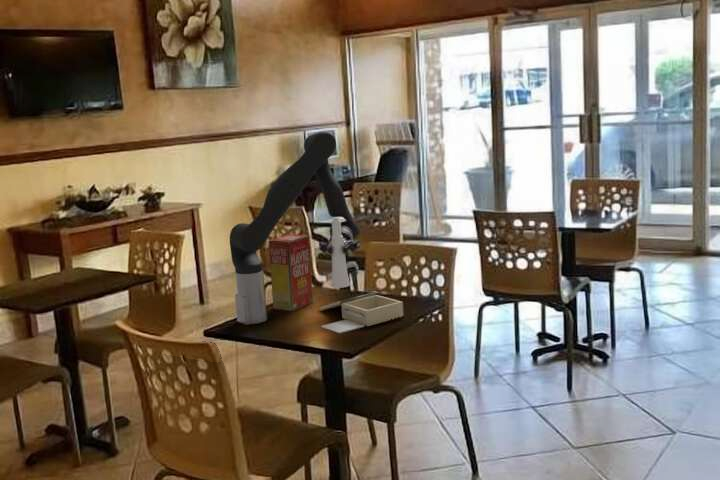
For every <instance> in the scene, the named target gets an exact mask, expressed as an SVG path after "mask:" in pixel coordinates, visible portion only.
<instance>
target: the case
mask: <svg viewBox="0 0 720 480" xmlns="http://www.w3.org/2000/svg"><path fill="white" fill-rule="evenodd" d="M371 295H373V296H371ZM367 296H369V297H367ZM363 297H366V298H363ZM359 298H362V299H359ZM355 299H358V300H355ZM351 300H354V301H351ZM339 301H340V302H341V303H342V304H341V316H342V317H341V319H343V320H349V321H352V322H356V323H359V324H362V325H364V326H366V327H369V326H373V325H377V324H381V323H384V322H387V321H391V319H392V320H395V318H396V319H398V317H399V318H402V316H403V317H404V301H401V300H398V299H394V298H390V297H386V296H382V295H379V294H377V293H376V292H374V293H373V292H370V294H369V293H366V295H365V294H362V295H357V296H354V297H349V298H345V299H342V300H339ZM347 301H350V302H347ZM343 302H346V303H343Z"/></svg>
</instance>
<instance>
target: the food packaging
mask: <svg viewBox="0 0 720 480" xmlns="http://www.w3.org/2000/svg"><path fill="white" fill-rule="evenodd" d="M268 247H269V248H268V250H269V266H270V280H271V281H270V282H271V294H272V296H271V297H272V309H273V310H280V311H289V312H294V311H296V310H298V309H301V308H304V307H306V306H308V305H311V304H313V303H314V298H313V297H314V295H313V282H312V281H313V280H312V279H313V278H312V267H311V266H312V264H311V250H310V249H311V247H310V235H308V234H296V233H295V234H294V233H291V234H290V233H289V234H287V235H283V236H281V237H277V238H274V239H269V240H268Z"/></svg>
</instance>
